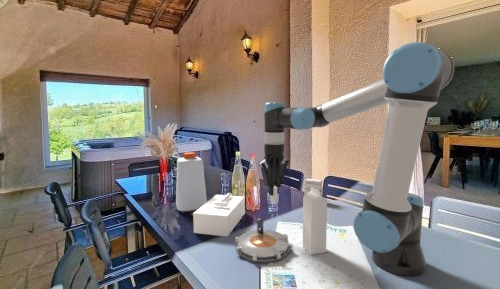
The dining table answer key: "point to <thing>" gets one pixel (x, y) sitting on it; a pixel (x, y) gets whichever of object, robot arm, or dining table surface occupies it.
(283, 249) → the sprocket
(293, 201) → the dining table surface
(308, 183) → the ink box
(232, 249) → the dining table surface
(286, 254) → the sprocket base
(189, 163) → the plastic bottle
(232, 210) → the tissue box
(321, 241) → the milk
